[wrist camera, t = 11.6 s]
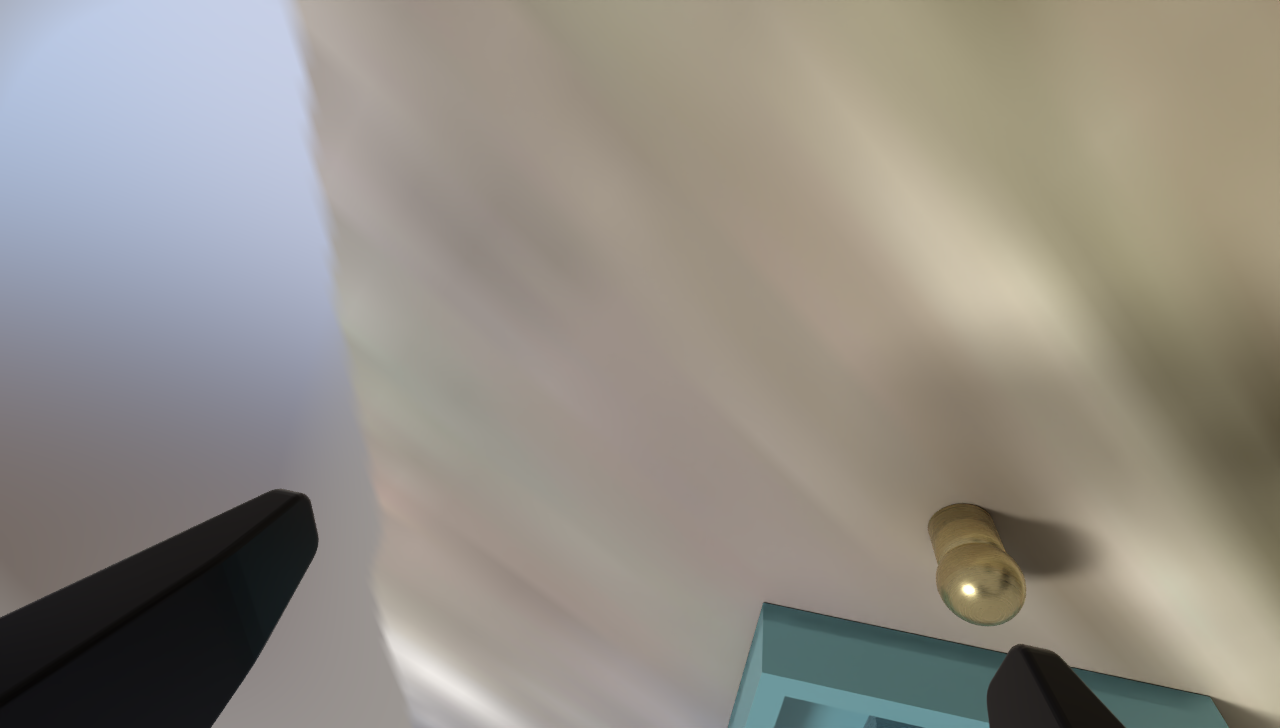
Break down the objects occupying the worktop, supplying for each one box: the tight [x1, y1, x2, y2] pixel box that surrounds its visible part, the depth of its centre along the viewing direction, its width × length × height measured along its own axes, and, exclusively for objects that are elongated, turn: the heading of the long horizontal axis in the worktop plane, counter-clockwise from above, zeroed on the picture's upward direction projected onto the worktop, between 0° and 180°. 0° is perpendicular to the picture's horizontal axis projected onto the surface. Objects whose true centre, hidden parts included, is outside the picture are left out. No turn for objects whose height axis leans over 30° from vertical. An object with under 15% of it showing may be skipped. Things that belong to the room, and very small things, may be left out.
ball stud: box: [928, 504, 1026, 626], centre depth 20 cm, size 2×2×4 cm
